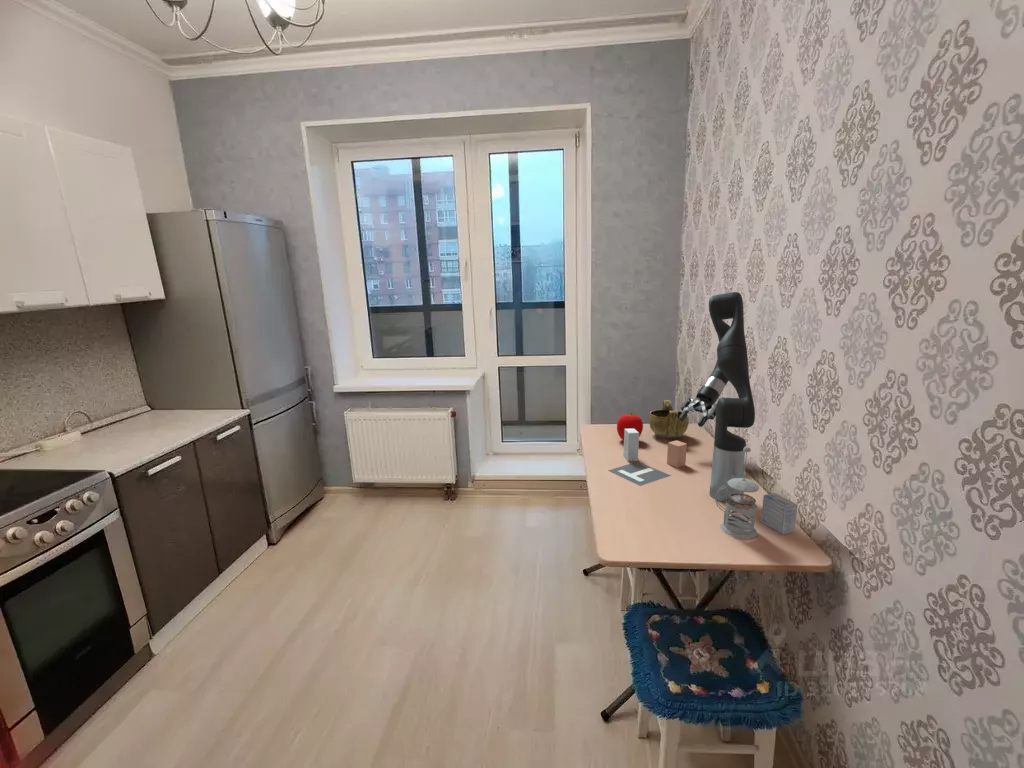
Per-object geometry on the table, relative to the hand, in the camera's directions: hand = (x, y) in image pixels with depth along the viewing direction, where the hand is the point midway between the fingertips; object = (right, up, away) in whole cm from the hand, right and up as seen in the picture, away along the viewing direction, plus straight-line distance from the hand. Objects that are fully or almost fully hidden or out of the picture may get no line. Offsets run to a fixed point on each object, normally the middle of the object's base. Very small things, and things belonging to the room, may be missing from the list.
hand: (690, 422), depth 183 cm
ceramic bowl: (+1, -9, +29) cm, 30 cm away
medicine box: (+7, -26, -48) cm, 55 cm away
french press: (-6, -27, -49) cm, 56 cm away
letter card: (-23, -18, -11) cm, 31 cm away
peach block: (-7, -16, -3) cm, 18 cm away
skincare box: (-23, -15, +3) cm, 27 cm away
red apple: (-18, -10, +23) cm, 31 cm away
